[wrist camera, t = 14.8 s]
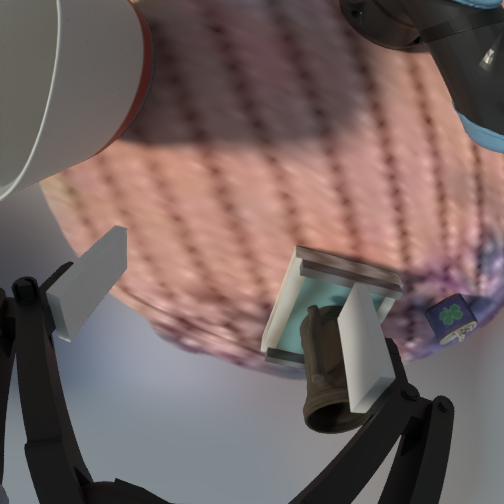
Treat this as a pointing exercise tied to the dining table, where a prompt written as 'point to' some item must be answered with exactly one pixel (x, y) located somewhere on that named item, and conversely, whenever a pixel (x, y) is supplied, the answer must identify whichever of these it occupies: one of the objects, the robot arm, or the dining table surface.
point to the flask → (451, 319)
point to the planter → (67, 83)
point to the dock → (320, 298)
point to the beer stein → (326, 374)
